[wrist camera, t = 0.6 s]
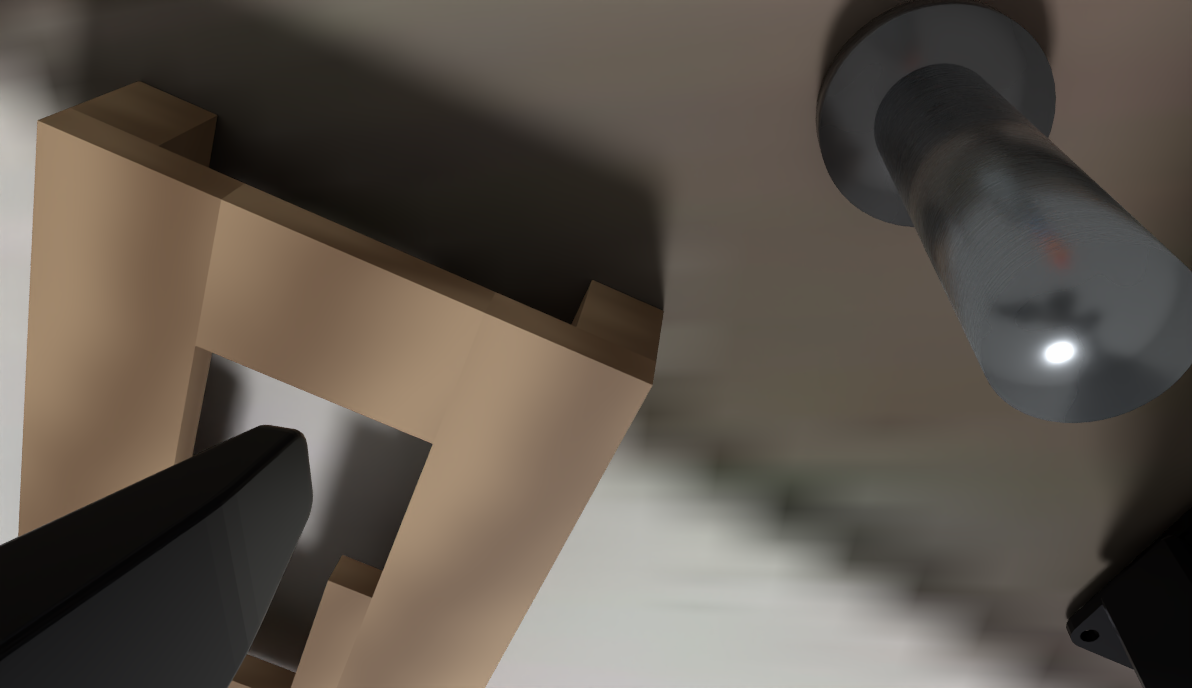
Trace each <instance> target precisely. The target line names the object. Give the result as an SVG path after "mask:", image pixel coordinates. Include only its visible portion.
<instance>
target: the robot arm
mask: <svg viewBox="0 0 1192 688" xmlns="http://www.w3.org/2000/svg"><path fill="white" fill-rule="evenodd" d="M312 501H313V490H312V482H311V473H310V465H309V456H308V448H307V442H306V439H305V437H304V435H303V434H302V433H301V432H300V431H298V430H296V429H290V428H284V427H278V426H272V425H261V426H258V427H255V428H253V429H251V430H249V431H247V432H244V433H242V434H240V435H238V436H236V437H234V438H231V439H229V440H227V441H225V442H223V443H221V444H218V445H216V446H214V447H212V448H210V449H208V450H205V451H203V452H201V453H199V454H197V455H195V456H192V457H190V458H188V459H186V460H184V461H182V462H179V463H177V464H175V465H173V466H171V467H169V468H166V469H164V470H162V471H160V472H158V473H156V474H153V475H151V476H149V477H147V478H145V479H143V480H140V481H138V482H136V483H134V484H132V485H130V486H127V487H125V488H123V489H121V490H119V491H117V492H115V493H112V494H110V495H108V496H106V497H104V498H102V499H99V500H97V501H95V502H93V503H91V504H89V505H86V506H84V507H82V508H80V509H78V510H76V511H73V512H71V513H69V514H67V515H65V516H63V517H60V518H58V519H56V520H54V521H52V522H50V523H47V524H45V525H43V526H41V527H39V528H37V529H34V530H32V531H30V532H28V533H26V534H24V535H21V536H19V537H17V538H15V539H13V540H10V541H8V542H6V543H4V544H2V545H0V688H228V687H229V685H230V683H231V681H232V680H233V678H234V676H235V675H236V673H237V671H238V669H239V667H240V666H241V664H242V662H243V660H244V658H245V656H246V655H247V653H248V651H249V649H250V647H251V645H252V643H253V641H254V639H255V637H256V634H257V632H258V630H259V628H260V626H261V624H262V621H263V619H264V617H265V615H266V612H267V610H268V608H269V606H270V603H271V601H272V599H273V597H274V594H275V592H276V590H277V588H278V585H279V583H280V581H281V579H282V576H283V574H284V572H285V570H286V567H287V565H288V563H289V561H290V558H291V556H292V554H293V552H294V549H295V547H296V545H297V543H298V540H299V538H300V536H301V534H302V531H303V529H304V527H305V525H306V522H307V520H308V518H309V515H310V511H311V507H312ZM1066 628H1067V631H1068V633H1069V635H1070V638H1071V640H1072V642H1073V643H1074V644H1076V645H1077V646H1079V647H1082V648H1084V649H1086V650H1089V651H1091V652H1093V653H1096V654H1098V655H1100V656H1103V657H1105V658H1108V659H1110V660H1112V661H1115V662H1117V663H1119V664H1122V665H1124V666H1127V667H1129V668H1131V669H1134V671H1135V673H1136V675H1137V677H1138V679H1139V681H1140V683H1141V685H1142V687H1143V688H1192V508H1191V509H1190V510H1189V511H1188V512H1186V513H1185V514H1184V515H1183V516H1182V517H1181V518H1180V519H1179V520H1178V521H1177V522H1175V523H1174V524H1173V525H1172V526H1171V527H1170V528H1169V529H1168V530H1167V531H1166V532H1165V533H1163V534H1162V535H1161V536H1160V537H1159V538H1158V539H1157V540H1156V541H1155V542H1154V543H1152V544H1151V545H1150V546H1149V547H1148V548H1147V549H1146V550H1145V551H1144V552H1143V553H1141V554H1140V555H1139V556H1138V557H1137V558H1136V559H1135V560H1134V561H1133V562H1132V563H1130V564H1129V565H1128V566H1127V567H1126V568H1125V569H1124V570H1123V571H1122V572H1121V573H1119V574H1118V575H1117V576H1116V577H1115V578H1114V579H1113V580H1112V581H1111V582H1110V583H1108V584H1107V585H1106V586H1105V587H1104V588H1103V589H1102V590H1101V591H1100V592H1099V593H1097V594H1096V595H1095V596H1094V597H1093V598H1092V599H1091V600H1090V601H1089V602H1088V603H1086V604H1085V605H1084V606H1083V607H1082V608H1081V609H1080V610H1079V611H1078V612H1077V613H1075V614H1074V615H1073V616H1072V617H1071V618H1070V619H1069V621H1068V622H1067V625H1066ZM1085 630H1088V631H1085Z"/></svg>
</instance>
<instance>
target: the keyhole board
mask: <svg viewBox="0 0 1192 688" xmlns="http://www.w3.org/2000/svg"><path fill="white" fill-rule="evenodd" d="M217 116H218V115H216V114H213V113H211V112H209V111H207V110H204V109H202V108H200V107H197V106H195V105H193V104H191V103H188V102H186V101H184V100H181V99H179V98H177V97H175V96H172V95H170V94H168V93H166V92H163V91H161V90H159V89H156V88H154V87H152V86H150V85H147V84H145V83H143V82H140V81H137V82H135V83H132V84H130V85H127V86H125V87H122V88H119V89H117V90H114V91H112V92H109V93H107V94H104V95H101V96H99V97H96V98H94V99H91V100H89V101H86V102H84V103H81V104H78V105H76V106H73V107H71V108H68V109H66V110H63V111H60V112H58V113H55V114H53V115H50V116H48V117H45V118H42V119H40V120H38V122H37V143H36V165H35V186H34V208H33V230H32V251H31V273H30V295H29V316H28V338H27V360H26V381H25V403H24V424H23V446H22V468H21V489H20V511H19V533H18V537H19V536H21V535H24V534H26V533H28V532H30V531H32V530H34V529H37V528H39V527H41V526H43V525H45V524H47V523H50V522H52V521H54V520H56V519H58V518H60V517H63V516H65V515H67V514H69V513H71V512H73V511H76V510H78V509H80V508H82V507H84V506H86V505H89V504H91V503H93V502H95V501H97V500H99V499H102V498H104V497H106V496H108V495H110V494H112V493H115V492H117V491H119V490H121V489H123V488H125V487H127V486H130V485H132V484H134V483H136V482H138V481H140V480H143V479H145V478H147V477H149V476H151V475H153V474H156V473H158V472H160V471H162V470H164V469H166V468H169V467H171V466H173V465H175V464H177V463H179V462H182V461H184V460H186V459H188V458H190V457H192V455H193V450H194V444H195V439H196V434H197V429H198V424H199V418H200V413H201V408H202V403H203V398H204V392H205V387H206V382H207V377H208V372H209V366H210V361H211V356H212V353H214V354H217V355H219V356H222V357H224V358H227V359H229V360H231V361H234V362H236V363H239V364H241V365H243V366H246V367H248V368H251V369H253V370H255V371H258V372H260V373H263V374H265V375H268V376H270V377H272V378H275V379H277V380H280V381H282V382H284V383H287V384H289V385H292V386H294V387H297V388H299V389H301V390H304V391H306V392H309V393H311V394H313V395H316V396H318V397H321V398H323V399H325V400H328V401H330V402H333V403H335V404H338V405H340V406H342V407H345V408H347V409H350V410H352V411H354V412H357V413H359V414H362V415H364V416H366V417H369V418H371V419H374V420H376V421H379V422H381V423H383V424H386V425H388V426H391V427H393V428H395V429H398V430H400V431H403V432H405V433H407V434H410V435H412V436H415V437H417V438H420V439H422V440H424V441H427V442H429V443H432V444H433V445H432V447H431V450H430V452H429V455H428V457H427V460H426V463H425V465H424V468H423V470H422V473H421V475H420V478H419V480H418V483H417V485H416V488H415V490H414V493H413V495H412V498H411V501H410V503H409V506H408V508H407V511H406V513H405V516H404V518H403V521H402V523H401V526H400V528H399V531H398V533H397V536H396V539H395V541H394V544H393V546H392V549H391V551H390V554H389V556H388V559H387V561H386V564H385V566H384V569H383V571H382V570H380V569H377V568H375V567H372V566H370V565H367V564H365V563H362V562H360V561H357V560H355V559H352V558H350V557H347V556H345V555H342V556H341V558H340V560H339V561H338V563H337V565H336V567H335V569H334V570H333V572H332V574H331V576H330V578H329V579H328V582H327V585H326V587H325V590H324V593H323V596H322V599H321V602H320V605H319V608H318V611H317V613H316V616H315V619H314V622H313V625H312V628H311V631H310V634H309V637H308V640H307V642H306V645H305V648H304V651H303V654H302V657H301V660H300V663H299V666H298V668H297V671H296V673H295V672H292V671H290V670H287V669H285V668H282V667H279V666H277V665H274V664H272V663H269V662H266V661H264V660H261V659H259V658H256V657H253V656H251V655H248V654H247V655H246V656H245V658H244V660H243V662H242V664H241V666H240V667H239V669H238V671H237V673H236V675H235V676H234V678H233V680H232V681H231V683H230V685H229V687H228V688H485V687H486V685H487V683H488V681H489V679H490V678H491V676H492V674H493V672H494V670H495V669H496V667H497V665H498V663H499V661H500V660H501V658H502V656H503V654H504V652H505V651H506V649H507V647H508V645H509V643H510V642H511V640H512V638H513V636H514V634H515V632H516V631H517V629H518V627H519V625H520V623H521V622H522V620H523V618H524V616H525V614H526V613H527V611H528V609H529V607H530V605H531V604H532V602H533V600H534V598H535V596H536V595H537V593H538V591H539V589H540V587H541V586H542V584H543V582H544V580H545V578H546V576H547V575H548V573H549V571H550V569H551V567H552V566H553V564H554V562H555V560H556V558H557V557H558V555H559V553H560V551H561V549H562V548H563V546H564V544H565V542H566V540H567V539H568V537H569V535H570V533H571V531H572V530H573V528H574V526H575V524H576V522H577V520H578V519H579V517H580V515H581V513H582V511H583V510H584V508H585V506H586V504H587V502H588V501H589V499H590V497H591V495H592V493H593V492H594V490H595V488H596V486H597V484H598V483H599V481H600V479H601V477H602V475H603V474H604V472H605V470H606V468H607V466H608V464H609V463H610V461H611V459H612V457H613V455H614V454H615V452H616V450H617V448H618V446H619V445H620V443H621V441H622V439H623V437H624V436H625V434H626V432H627V430H628V428H629V427H630V425H631V423H632V421H633V419H634V418H635V416H636V414H637V412H638V410H639V409H640V407H641V405H642V403H643V401H644V399H645V398H646V396H647V394H648V392H649V390H650V389H651V387H652V385H653V378H654V372H655V365H656V359H657V352H658V345H659V339H660V332H661V326H662V319H663V313H664V311H662V310H660V309H658V308H655V307H653V306H651V305H649V304H646V303H644V302H642V301H639V300H637V299H635V298H633V297H630V296H628V295H626V294H624V293H621V292H619V291H617V290H614V289H612V288H610V287H608V286H605V285H603V284H601V283H598V282H596V281H594V280H592V281H591V283H590V286H589V288H588V290H587V292H586V294H585V296H584V298H583V301H582V303H581V305H580V307H579V309H578V311H577V313H576V316H575V318H574V320H573V322H572V324H571V325H570V324H568V323H566V322H563V321H561V320H559V319H556V318H554V317H552V316H549V315H547V314H545V313H543V312H540V311H538V310H536V309H533V308H531V307H529V306H526V305H524V304H522V303H519V302H517V301H515V300H513V299H510V298H508V297H506V296H503V295H501V294H499V293H496V292H494V291H492V290H489V289H487V288H485V287H483V286H480V285H478V284H476V283H473V282H471V281H469V280H466V279H464V278H462V277H459V276H457V275H455V274H452V273H450V272H448V271H446V270H443V269H441V268H439V267H436V266H434V265H432V264H429V263H427V262H425V261H422V260H420V259H418V258H416V257H413V256H411V255H409V254H406V253H404V252H402V251H399V250H397V249H395V248H392V247H390V246H388V245H386V244H383V243H381V242H379V241H376V240H374V239H372V238H369V237H367V236H365V235H362V234H360V233H358V232H356V231H353V230H351V229H349V228H346V227H344V226H342V225H339V224H337V223H335V222H332V221H330V220H328V219H325V218H323V217H321V216H319V215H316V214H314V213H312V212H309V211H307V210H305V209H302V208H300V207H298V206H295V205H293V204H291V203H289V202H286V201H284V200H282V199H279V198H277V197H275V196H272V195H270V194H268V193H265V192H263V191H261V190H259V189H256V188H254V187H252V186H249V185H247V184H245V183H242V182H240V181H238V180H235V179H233V178H231V177H229V176H226V175H224V174H222V173H219V172H217V171H215V170H212V169H210V168H209V164H210V158H211V152H212V146H213V140H214V134H215V128H216V122H217Z"/></svg>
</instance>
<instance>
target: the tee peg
mask: <svg viewBox="0 0 1192 688" xmlns="http://www.w3.org/2000/svg"><path fill="white" fill-rule="evenodd" d="M1055 101H1056V95H1055V83H1054V79H1053V75H1052V71H1051V68H1050V65H1049V63H1048V60H1047V58H1046V56H1045V54H1044V52H1043V51H1042V49H1041V47H1040V46H1039V44H1038V43H1037V42H1036V41H1035V39H1034V38H1033V37H1032V36H1031V35H1030V34H1029V32H1027V31H1026V30H1025V29H1024V28H1023V27H1021V26H1020V25H1019V24H1018V23H1016V22H1015V21H1013V20H1011V19H1010V18H1008V17H1007V16H1005V15H1003V14H1002V13H1000V12H998V11H997V10H995V9H993V8H992V7H989V6H987V5H984V4H982V3H979V2H977V1H972V0H916V1H912V2H909V3H906V4H903V5H900V6H898V7H895V8H893V9H891V10H889V11H886V12H885V13H883V14H881V15H880V16H878V17H876V18H875V19H873V20H872V21H870V22H869V23H868V24H866V25H865V26H864V27H862V28H861V29H860V30H859V31H858V32H857V33H856V34H855V35H854V36H853V37H852V38H851V39H850V40H849V41H848V42H847V43H846V44H845V45H844V47H843V48H842V49H841V50H840V52H839V53H838V54H837V56H836V58H835V59H834V61H833V62H832V64H831V65H830V67H829V70H828V72H827V74H826V76H825V78H824V80H823V83H822V86H821V89H820V92H819V97H818V102H817V110H816V129H817V137H818V141H819V146H820V149H821V153H822V156H823V160H824V163H825V165H826V168H827V171H828V173H829V175H830V177H831V179H832V180H833V182H834V184H835V185H836V187H837V188H838V189H839V191H840V192H841V193H842V194H843V195H844V196H845V197H846V198H847V199H848V200H849V201H850V202H851V203H852V204H853V205H854V206H856V207H857V208H858V209H860V210H861V211H863V212H865V213H866V214H868V215H870V216H872V217H874V218H877V219H879V220H882V221H884V222H888V223H892V224H896V225H901V226H910V227H915V229H916V231H917V233H918V235H919V237H920V239H921V242H922V244H923V246H924V248H925V250H926V252H927V254H928V256H929V258H930V260H931V263H932V265H933V267H934V269H935V271H936V273H937V275H938V277H939V279H940V281H941V284H942V286H943V288H944V290H945V292H946V294H947V296H948V298H949V300H950V303H951V305H952V307H953V309H954V311H955V313H956V315H957V317H958V319H959V321H960V324H961V326H962V328H963V330H964V332H965V334H966V336H967V338H968V340H969V343H970V345H971V347H972V349H973V351H974V353H975V355H976V357H977V359H978V361H979V364H980V366H981V368H982V370H983V372H984V374H985V376H986V378H987V380H988V382H989V384H990V385H991V387H992V388H993V389H994V391H995V392H996V393H997V394H998V395H999V396H1000V397H1001V398H1002V399H1003V400H1004V401H1005V402H1007V403H1008V404H1009V405H1011V406H1012V407H1014V408H1015V409H1017V410H1019V411H1021V412H1023V413H1025V414H1028V415H1030V416H1033V417H1036V418H1039V419H1043V420H1048V421H1054V422H1062V423H1081V422H1092V421H1098V420H1104V419H1107V418H1111V417H1115V416H1118V415H1121V414H1124V413H1127V412H1129V411H1132V410H1134V409H1136V408H1138V407H1140V406H1142V405H1145V404H1146V403H1148V402H1150V401H1151V400H1153V399H1155V398H1156V397H1158V396H1159V395H1161V394H1162V393H1163V392H1165V391H1166V390H1167V389H1169V388H1170V387H1171V386H1172V385H1173V384H1174V383H1175V382H1176V381H1177V380H1178V379H1180V377H1181V376H1182V375H1183V374H1184V373H1185V372H1186V371H1187V369H1188V368H1189V367H1190V365H1191V364H1192V272H1191V271H1190V270H1189V269H1188V267H1187V266H1185V265H1184V264H1183V263H1182V262H1181V261H1180V260H1179V259H1178V258H1177V257H1176V256H1175V255H1174V254H1172V253H1171V252H1170V251H1169V250H1168V249H1167V248H1166V247H1165V246H1164V245H1163V244H1162V243H1161V242H1159V241H1158V240H1157V239H1156V238H1155V237H1154V236H1153V235H1152V234H1151V233H1150V232H1149V231H1148V230H1147V229H1145V228H1144V227H1143V226H1142V225H1141V224H1140V223H1139V222H1138V221H1137V220H1136V219H1135V218H1134V217H1132V216H1131V215H1130V214H1129V213H1128V212H1127V211H1126V210H1125V209H1124V208H1123V207H1122V206H1121V205H1120V204H1118V203H1117V202H1116V201H1115V200H1114V199H1113V198H1112V197H1111V196H1110V195H1109V194H1108V193H1107V192H1105V191H1104V190H1103V189H1102V188H1101V187H1100V186H1099V185H1098V184H1097V183H1096V182H1095V181H1094V180H1092V179H1091V178H1090V177H1089V176H1088V175H1087V174H1086V173H1085V172H1084V171H1083V170H1082V169H1081V168H1080V167H1078V166H1077V165H1076V164H1075V163H1074V162H1073V161H1072V160H1071V159H1070V158H1069V157H1068V156H1067V155H1065V154H1064V153H1063V152H1062V151H1061V150H1060V149H1059V148H1058V147H1057V146H1056V145H1055V144H1054V143H1052V142H1051V141H1050V140H1049V139H1048V137H1049V134H1050V131H1051V128H1052V124H1053V119H1054V114H1055Z"/></svg>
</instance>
